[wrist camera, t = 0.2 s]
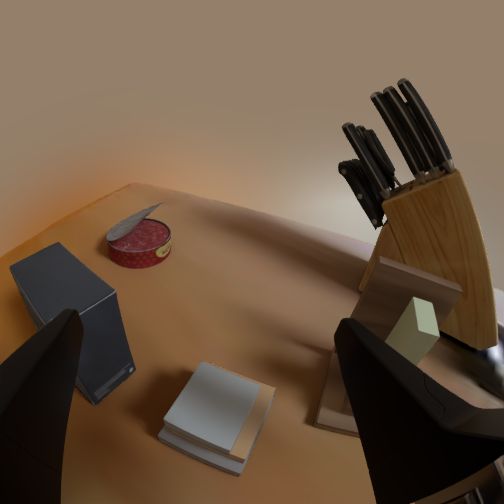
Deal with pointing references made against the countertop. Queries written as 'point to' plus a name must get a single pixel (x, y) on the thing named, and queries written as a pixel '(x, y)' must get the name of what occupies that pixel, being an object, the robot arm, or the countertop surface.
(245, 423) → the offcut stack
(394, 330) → the green board
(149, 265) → the canned food
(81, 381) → the small box
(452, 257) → the knife block
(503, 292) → the countertop surface
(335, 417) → the walnut rack
